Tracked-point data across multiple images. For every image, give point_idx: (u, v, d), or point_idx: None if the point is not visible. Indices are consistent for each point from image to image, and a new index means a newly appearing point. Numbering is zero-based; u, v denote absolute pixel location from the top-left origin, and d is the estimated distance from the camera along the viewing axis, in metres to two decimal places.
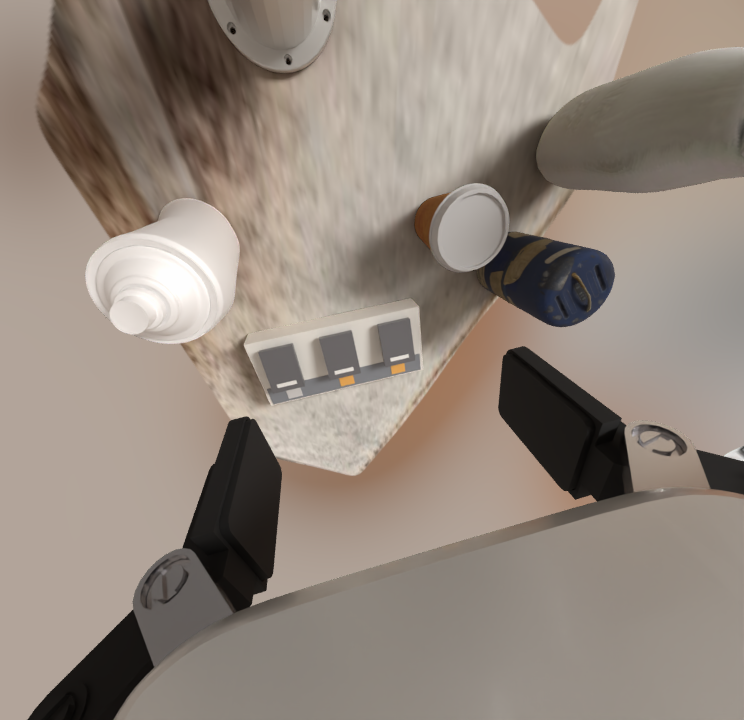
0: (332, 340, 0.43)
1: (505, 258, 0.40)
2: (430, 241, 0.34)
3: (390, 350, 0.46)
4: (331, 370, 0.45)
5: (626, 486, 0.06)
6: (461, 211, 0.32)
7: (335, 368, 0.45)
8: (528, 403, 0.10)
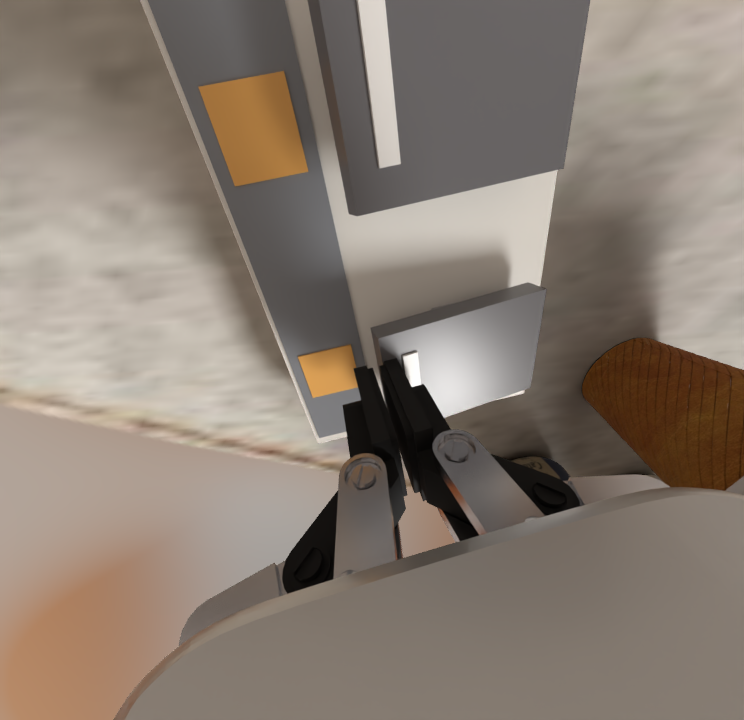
0: (564, 32, 0.08)
1: None
2: None
3: (447, 347, 0.11)
4: None
5: (465, 509, 0.06)
6: None
7: (398, 8, 0.06)
8: (392, 411, 0.10)
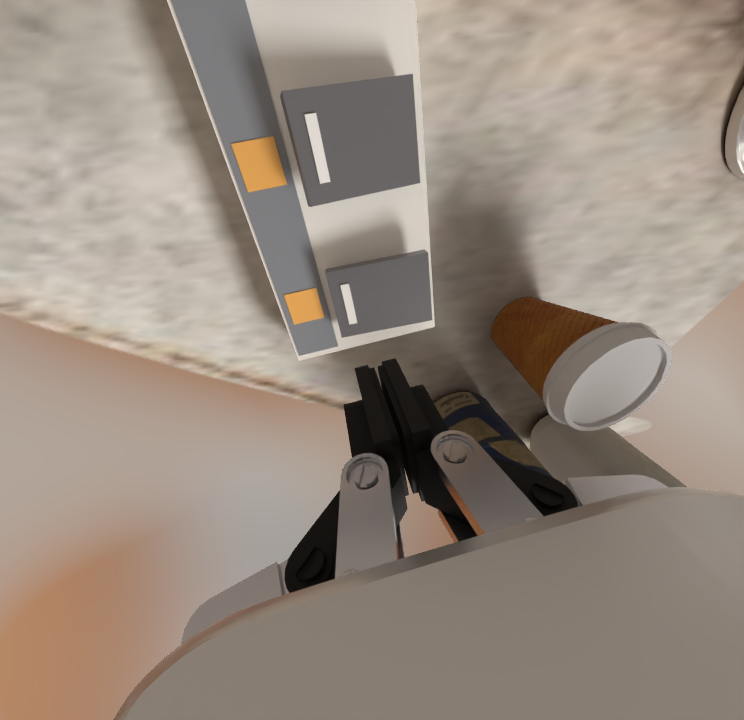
0: (404, 121, 0.16)
1: (508, 430, 0.29)
2: (616, 327, 0.20)
3: (367, 283, 0.20)
4: (317, 102, 0.15)
5: (463, 510, 0.06)
6: (646, 363, 0.22)
7: (323, 116, 0.15)
8: (390, 412, 0.10)
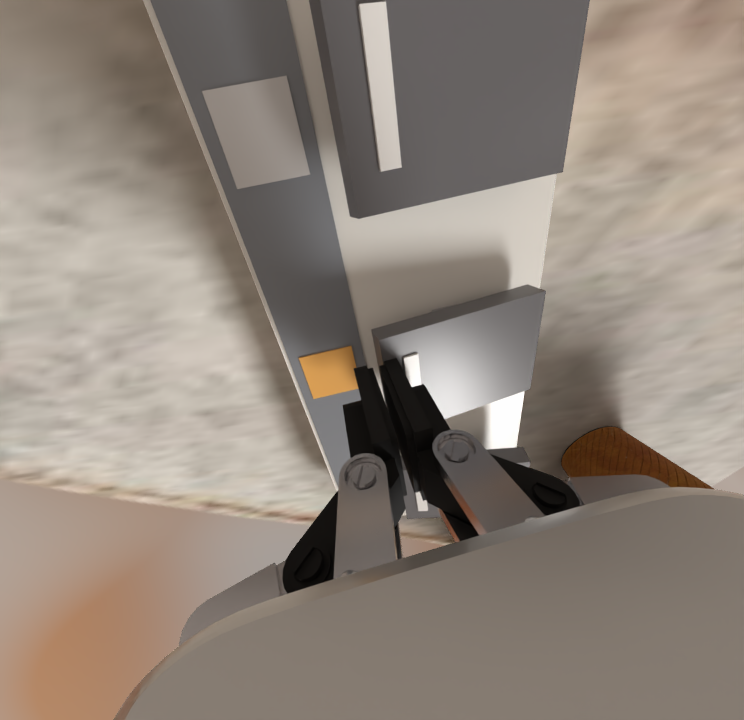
0: (524, 337, 0.12)
1: None
2: None
3: None
4: (421, 342, 0.11)
5: (465, 509, 0.06)
6: None
7: (425, 354, 0.11)
8: (392, 411, 0.10)
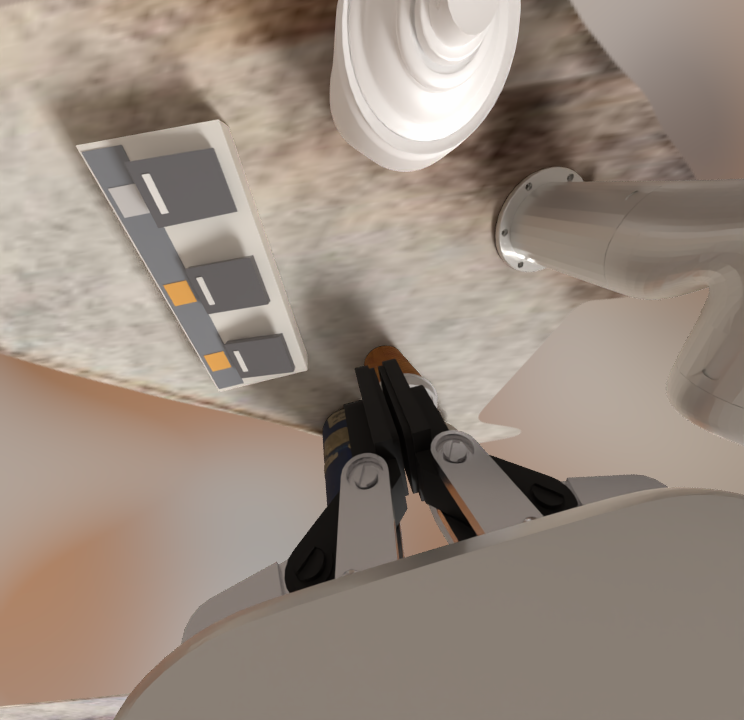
0: (250, 277, 0.30)
1: None
2: None
3: (249, 351, 0.35)
4: (202, 272, 0.30)
5: (463, 510, 0.06)
6: None
7: (205, 278, 0.30)
8: (391, 412, 0.10)
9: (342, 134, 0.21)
